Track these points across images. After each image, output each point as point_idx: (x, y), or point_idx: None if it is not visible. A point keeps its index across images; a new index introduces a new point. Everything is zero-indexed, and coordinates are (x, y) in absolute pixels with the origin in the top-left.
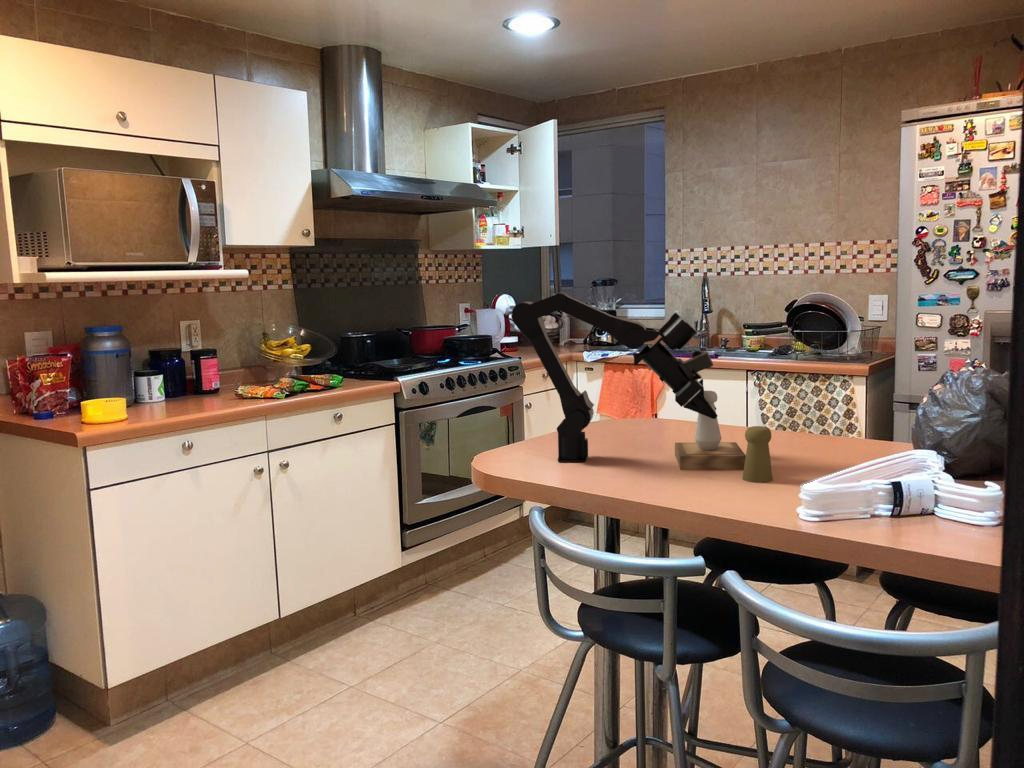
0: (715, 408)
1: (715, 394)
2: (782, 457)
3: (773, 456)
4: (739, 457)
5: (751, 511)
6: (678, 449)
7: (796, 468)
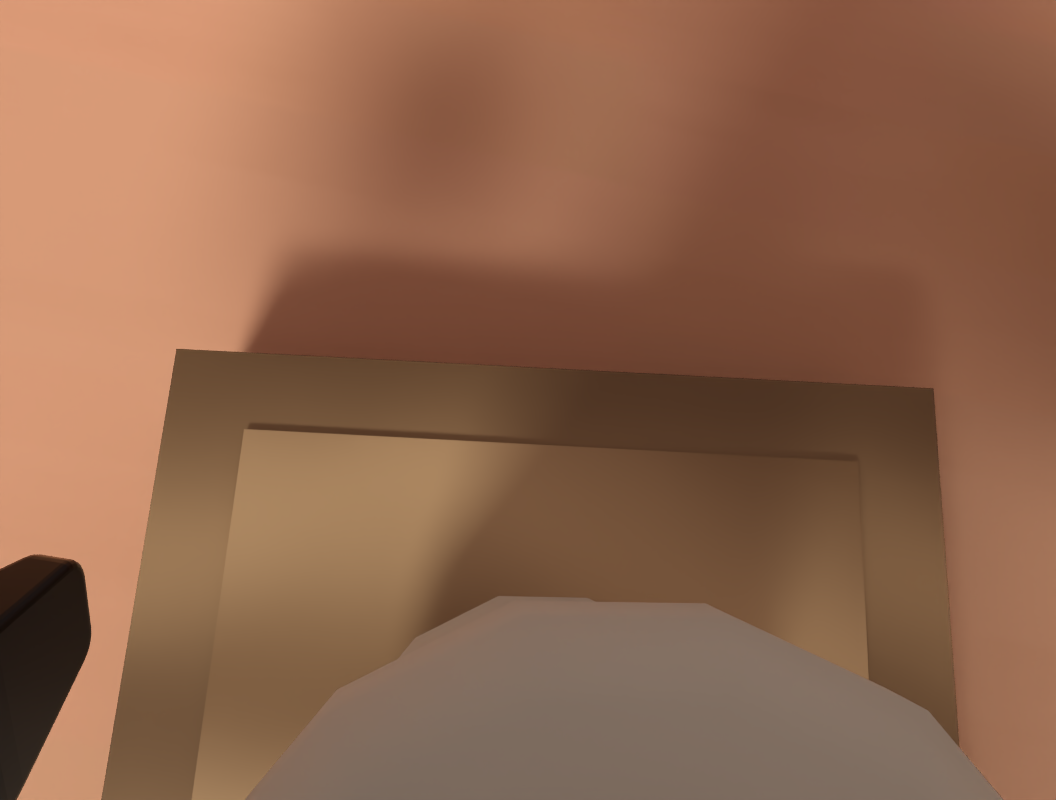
0: (67, 582)
1: (935, 728)
2: (388, 11)
3: (338, 72)
4: (932, 467)
5: None
6: None
7: (810, 6)
